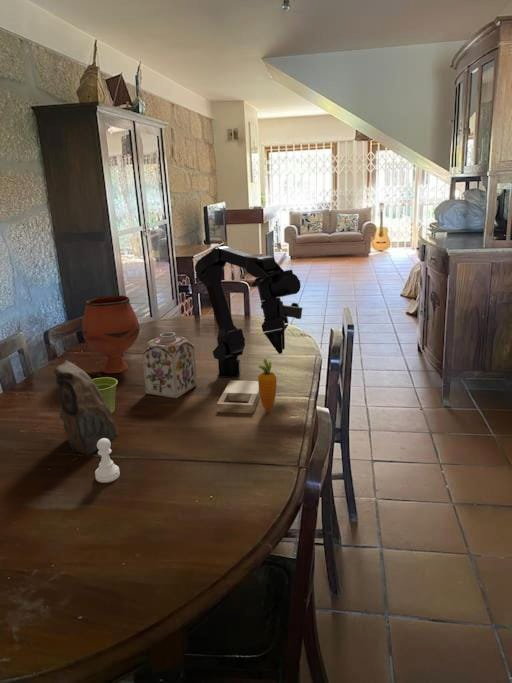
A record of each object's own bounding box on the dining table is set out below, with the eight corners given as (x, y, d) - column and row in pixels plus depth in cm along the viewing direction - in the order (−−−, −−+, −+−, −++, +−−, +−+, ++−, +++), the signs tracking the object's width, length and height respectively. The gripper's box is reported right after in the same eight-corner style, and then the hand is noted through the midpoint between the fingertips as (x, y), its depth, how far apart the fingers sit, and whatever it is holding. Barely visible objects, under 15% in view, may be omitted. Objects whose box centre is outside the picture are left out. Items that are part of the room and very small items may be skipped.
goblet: (132, 357, 189) (125, 291, 182) (151, 370, 174) (145, 299, 167) (80, 367, 179) (71, 298, 172) (96, 383, 164) (86, 308, 157)
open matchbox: (217, 411, 139) (216, 403, 139) (230, 387, 156) (230, 380, 156) (253, 413, 138) (252, 404, 137) (262, 388, 155) (262, 381, 154)
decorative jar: (198, 385, 159) (194, 330, 154) (177, 399, 149) (173, 341, 144) (166, 381, 164) (161, 327, 159) (144, 393, 154) (138, 337, 149)
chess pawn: (101, 470, 112) (96, 433, 109) (123, 470, 111) (118, 433, 108) (91, 482, 107) (86, 444, 104) (114, 483, 106) (110, 445, 104)
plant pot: (127, 407, 144) (124, 378, 142) (107, 421, 136) (104, 391, 133) (99, 403, 147) (96, 376, 145) (79, 417, 139) (74, 387, 136)
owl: (87, 458, 117) (76, 377, 111) (45, 449, 121) (32, 371, 116) (121, 434, 128) (112, 359, 122) (81, 427, 133) (70, 355, 127)
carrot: (275, 416, 135) (274, 363, 131) (257, 415, 136) (255, 363, 132) (278, 409, 140) (277, 357, 136) (260, 408, 141) (259, 357, 137)
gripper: (296, 293, 136) (308, 350, 138) (298, 292, 155) (309, 342, 156) (256, 302, 138) (268, 358, 139) (263, 300, 156) (274, 349, 158)
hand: (281, 351), depth 148 cm, fingers open, 9 cm apart
